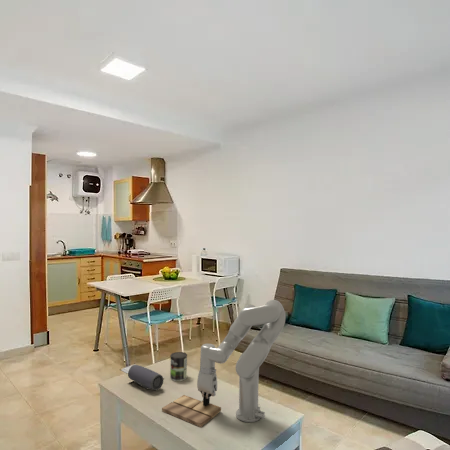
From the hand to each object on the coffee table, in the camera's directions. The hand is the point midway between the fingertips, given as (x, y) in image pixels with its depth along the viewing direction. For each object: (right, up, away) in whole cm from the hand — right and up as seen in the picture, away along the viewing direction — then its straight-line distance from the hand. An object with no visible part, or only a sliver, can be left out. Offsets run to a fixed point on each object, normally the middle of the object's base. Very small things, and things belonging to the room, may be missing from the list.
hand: (206, 404), depth 179 cm
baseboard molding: (-43, -3, +41) cm, 60 cm away
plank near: (0, -2, -3) cm, 3 cm away
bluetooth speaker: (-37, -3, +26) cm, 45 cm away
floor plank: (-10, -2, -6) cm, 12 cm away
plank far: (-10, -2, +5) cm, 11 cm away
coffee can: (-19, -3, +38) cm, 42 cm away
